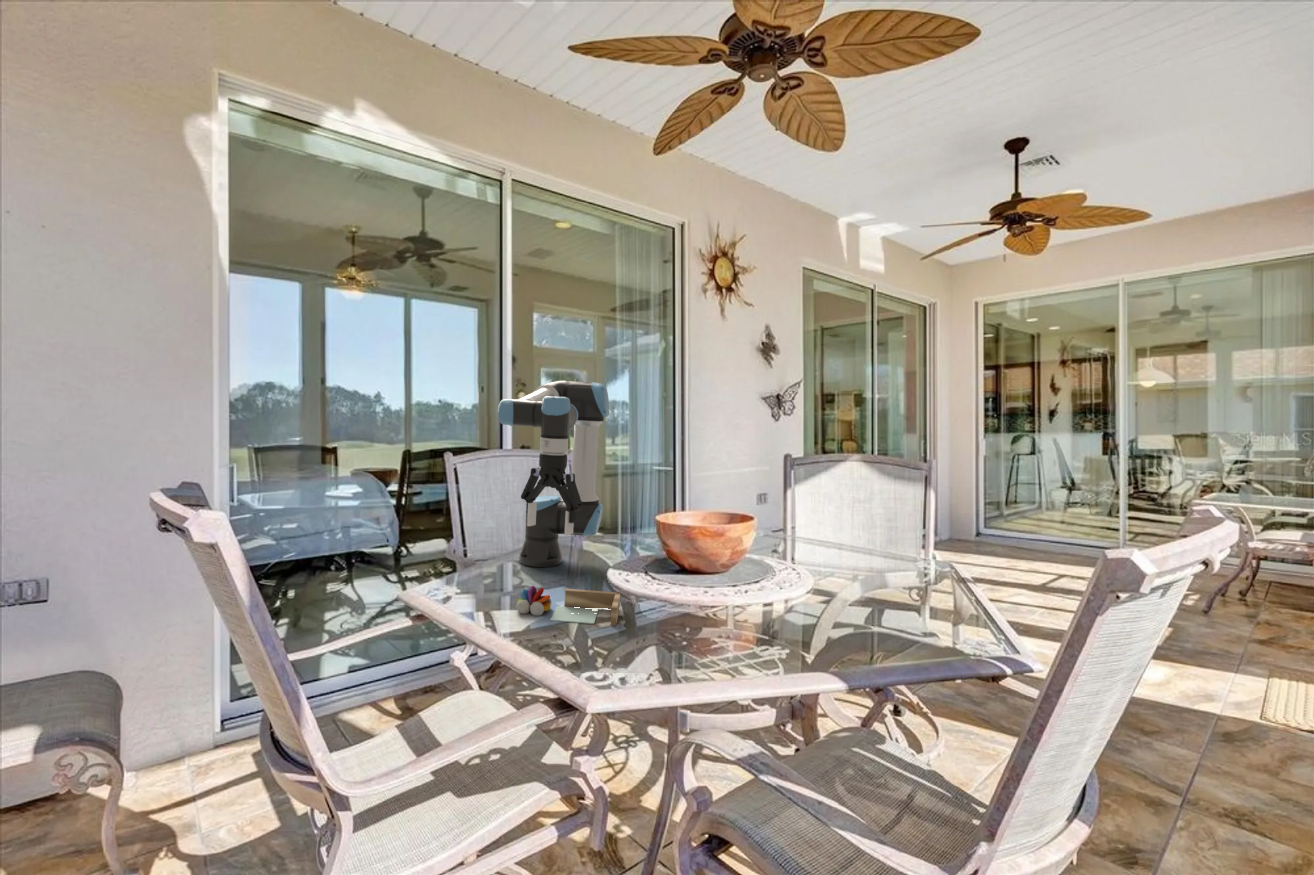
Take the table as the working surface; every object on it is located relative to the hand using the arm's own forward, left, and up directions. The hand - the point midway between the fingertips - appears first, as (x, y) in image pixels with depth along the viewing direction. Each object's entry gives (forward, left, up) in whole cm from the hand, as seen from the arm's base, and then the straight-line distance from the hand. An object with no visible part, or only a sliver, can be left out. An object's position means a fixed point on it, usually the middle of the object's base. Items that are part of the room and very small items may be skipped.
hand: (549, 529), depth 170 cm
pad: (-2, +8, -24) cm, 26 cm away
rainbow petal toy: (-3, -4, -25) cm, 25 cm away
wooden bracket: (-3, +12, -24) cm, 27 cm away
